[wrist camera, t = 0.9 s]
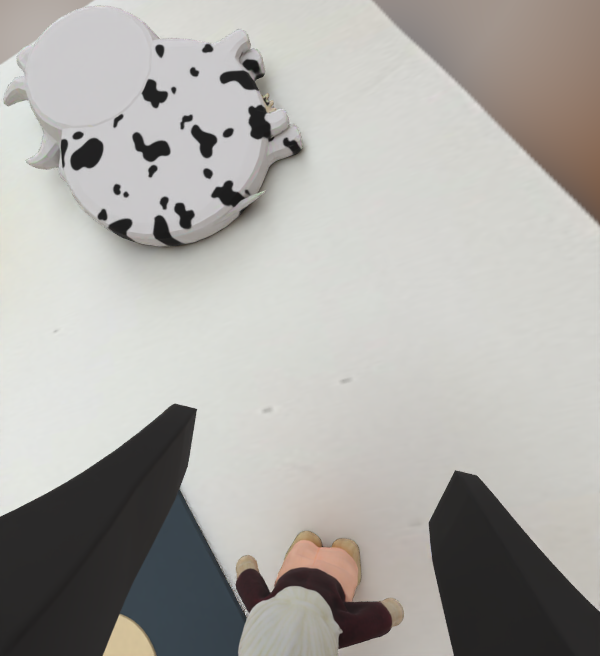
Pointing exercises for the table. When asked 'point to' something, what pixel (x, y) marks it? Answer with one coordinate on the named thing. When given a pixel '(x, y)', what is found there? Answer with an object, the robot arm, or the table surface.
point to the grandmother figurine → (310, 602)
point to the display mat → (178, 598)
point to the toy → (151, 124)
